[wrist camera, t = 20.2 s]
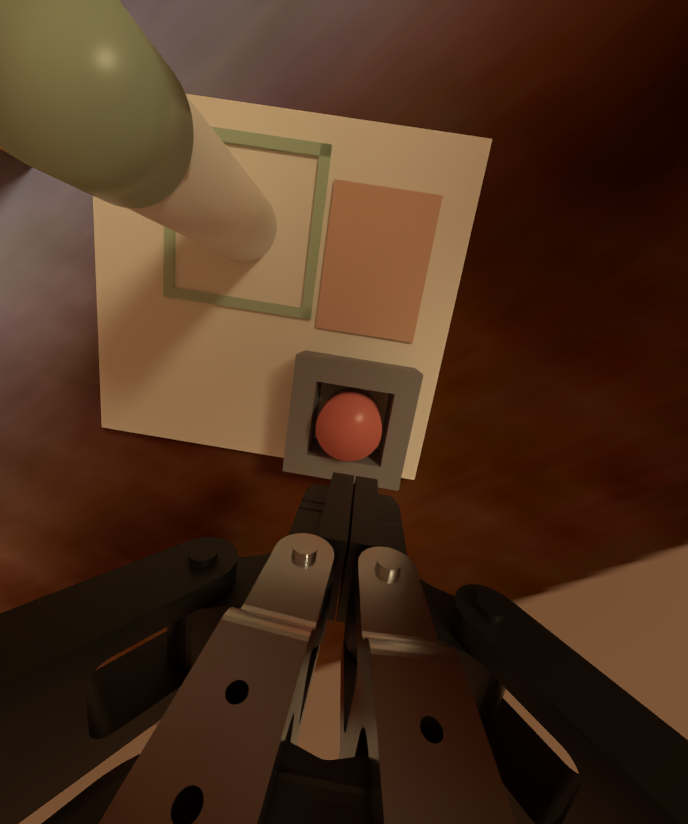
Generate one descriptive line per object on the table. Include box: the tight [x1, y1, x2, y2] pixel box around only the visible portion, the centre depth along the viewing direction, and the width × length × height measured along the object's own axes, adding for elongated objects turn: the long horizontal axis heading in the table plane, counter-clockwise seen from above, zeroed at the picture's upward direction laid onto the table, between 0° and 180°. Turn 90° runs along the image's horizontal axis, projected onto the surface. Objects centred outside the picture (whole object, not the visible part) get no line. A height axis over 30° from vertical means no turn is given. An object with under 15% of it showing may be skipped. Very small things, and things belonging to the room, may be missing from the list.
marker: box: [0, 0, 277, 262], centre depth 13 cm, size 4×4×12 cm
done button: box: [316, 388, 382, 461], centre depth 19 cm, size 4×4×3 cm
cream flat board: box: [93, 94, 492, 491], centre depth 19 cm, size 22×20×4 cm
